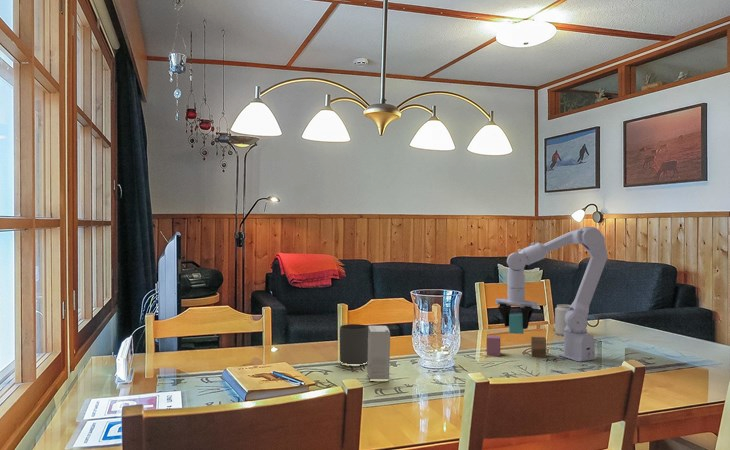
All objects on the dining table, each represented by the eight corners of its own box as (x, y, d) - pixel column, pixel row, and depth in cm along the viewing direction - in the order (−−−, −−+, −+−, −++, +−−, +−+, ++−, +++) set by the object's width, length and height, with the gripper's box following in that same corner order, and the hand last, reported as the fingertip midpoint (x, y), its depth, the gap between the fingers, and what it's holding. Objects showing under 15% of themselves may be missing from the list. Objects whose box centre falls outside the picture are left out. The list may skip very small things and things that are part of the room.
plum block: (500, 356, 191) (500, 338, 191) (486, 355, 192) (486, 337, 192) (500, 353, 195) (500, 335, 195) (487, 352, 196) (486, 335, 196)
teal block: (523, 333, 190) (523, 316, 190) (509, 333, 191) (509, 315, 190) (522, 331, 194) (522, 313, 194) (509, 330, 195) (509, 313, 195)
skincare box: (366, 374, 168) (366, 325, 168) (386, 374, 168) (386, 324, 168) (369, 382, 159) (369, 330, 159) (390, 382, 160) (390, 330, 160)
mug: (370, 366, 177) (370, 328, 177) (342, 368, 176) (342, 329, 176) (362, 356, 191) (362, 321, 191) (335, 357, 189) (335, 322, 189)
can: (571, 333, 230) (571, 303, 230) (577, 336, 222) (577, 306, 222) (553, 332, 230) (553, 303, 230) (557, 336, 223) (557, 306, 223)
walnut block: (546, 357, 188) (546, 339, 188) (532, 357, 189) (532, 339, 189) (544, 354, 193) (544, 337, 193) (531, 353, 194) (531, 336, 194)
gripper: (541, 288, 190) (541, 328, 190) (502, 285, 200) (502, 323, 200) (532, 290, 185) (532, 331, 185) (492, 287, 195) (492, 326, 195)
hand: (516, 327), depth 192 cm, fingers closed on teal block, 6 cm apart
